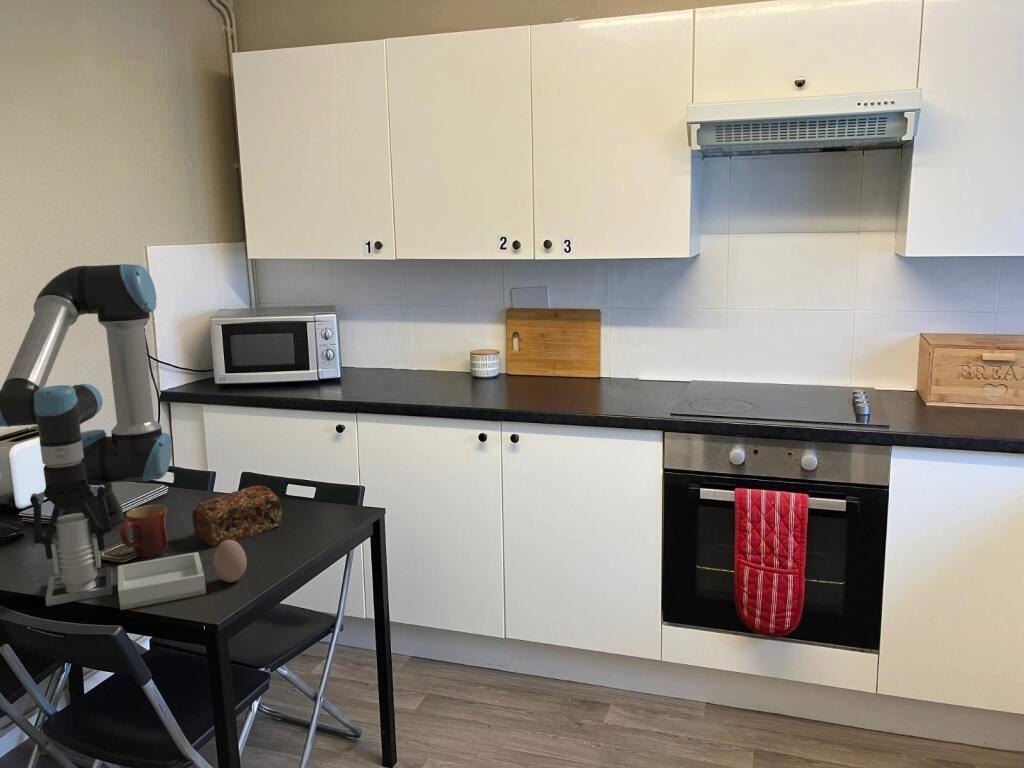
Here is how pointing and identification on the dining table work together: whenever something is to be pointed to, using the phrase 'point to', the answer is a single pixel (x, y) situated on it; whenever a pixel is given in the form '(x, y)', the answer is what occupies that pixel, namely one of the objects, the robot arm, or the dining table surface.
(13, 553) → the dining table surface
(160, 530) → the mug
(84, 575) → the grey tall round piece
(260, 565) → the dining table surface
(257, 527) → the bread
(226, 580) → the egg
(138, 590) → the bin
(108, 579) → the grey square frame
